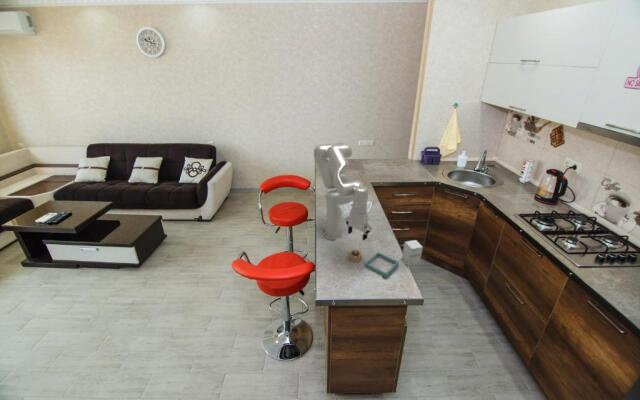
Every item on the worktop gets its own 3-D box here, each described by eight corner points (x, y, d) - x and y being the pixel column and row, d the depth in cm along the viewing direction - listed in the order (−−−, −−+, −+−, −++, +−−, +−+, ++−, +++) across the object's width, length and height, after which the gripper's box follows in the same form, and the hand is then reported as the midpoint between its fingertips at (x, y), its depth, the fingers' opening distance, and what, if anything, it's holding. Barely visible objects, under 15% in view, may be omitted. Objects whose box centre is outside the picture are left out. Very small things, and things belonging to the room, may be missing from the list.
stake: (347, 259, 175) (348, 252, 173) (353, 254, 179) (354, 247, 177) (356, 263, 172) (357, 256, 170) (362, 259, 176) (363, 252, 174)
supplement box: (407, 267, 170) (411, 248, 164) (401, 259, 176) (404, 241, 170) (419, 265, 172) (423, 246, 166) (412, 257, 178) (416, 239, 172)
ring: (346, 258, 175) (347, 253, 174) (353, 252, 180) (354, 248, 178) (356, 263, 171) (357, 259, 169) (363, 257, 176) (364, 253, 174)
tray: (364, 267, 169) (364, 263, 168) (377, 256, 178) (377, 251, 177) (385, 279, 161) (386, 274, 160) (398, 266, 170) (399, 262, 169)
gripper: (342, 206, 163) (340, 232, 171) (369, 217, 153) (366, 245, 161) (350, 201, 168) (348, 227, 176) (377, 211, 158) (374, 239, 166)
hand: (357, 235), depth 168 cm, fingers open, 9 cm apart
